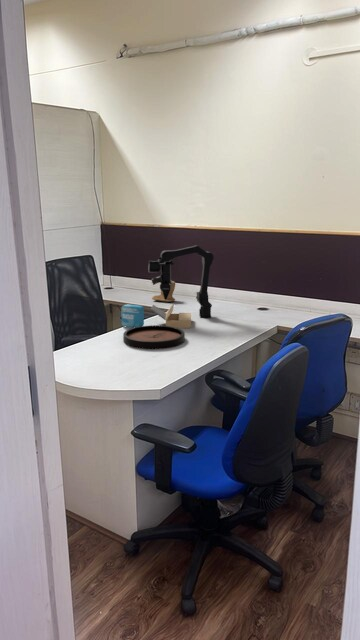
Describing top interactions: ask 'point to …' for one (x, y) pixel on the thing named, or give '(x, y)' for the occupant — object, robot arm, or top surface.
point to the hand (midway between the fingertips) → (165, 298)
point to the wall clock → (154, 337)
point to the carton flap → (161, 313)
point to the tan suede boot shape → (169, 298)
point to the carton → (179, 320)
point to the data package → (132, 315)
